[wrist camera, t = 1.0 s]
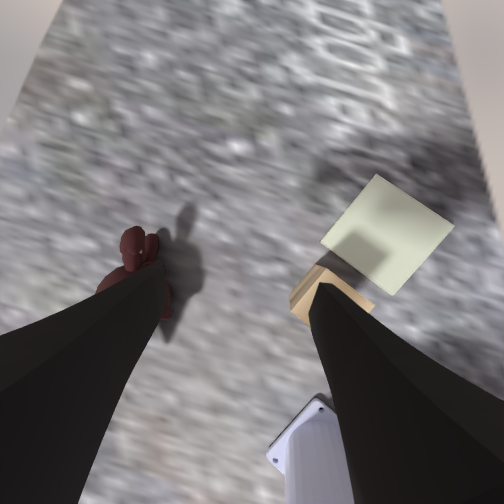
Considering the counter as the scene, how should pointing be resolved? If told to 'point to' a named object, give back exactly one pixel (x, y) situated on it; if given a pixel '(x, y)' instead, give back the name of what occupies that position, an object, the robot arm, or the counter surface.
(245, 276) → the counter surface
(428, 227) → the coaster
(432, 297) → the counter surface
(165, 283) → the robot arm
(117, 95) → the counter surface
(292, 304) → the block
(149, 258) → the icecream
